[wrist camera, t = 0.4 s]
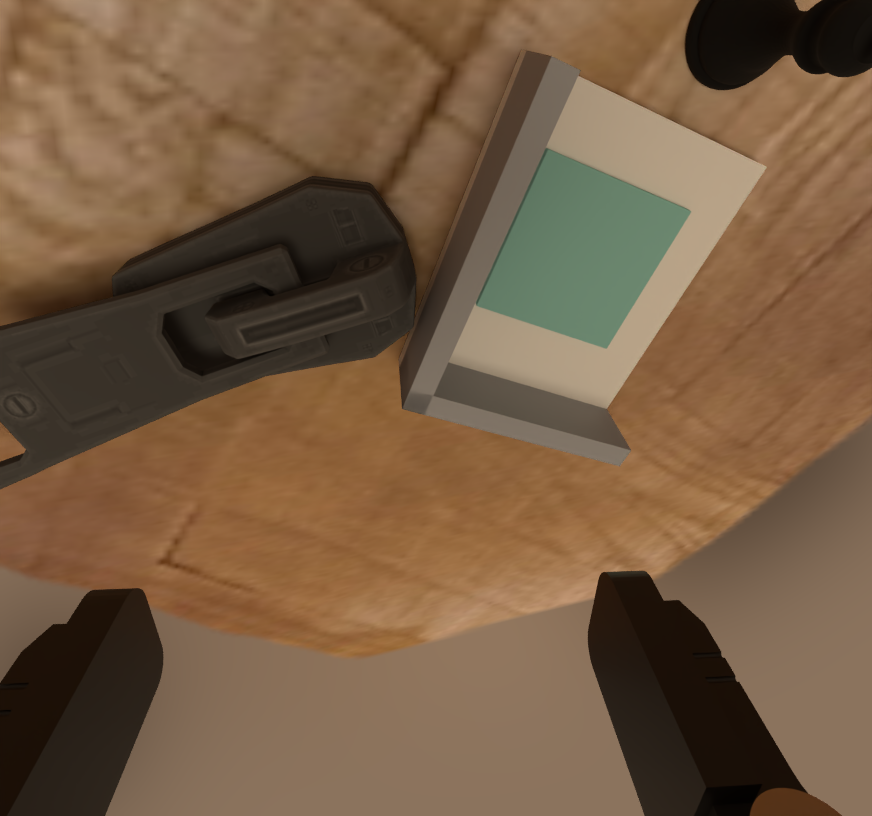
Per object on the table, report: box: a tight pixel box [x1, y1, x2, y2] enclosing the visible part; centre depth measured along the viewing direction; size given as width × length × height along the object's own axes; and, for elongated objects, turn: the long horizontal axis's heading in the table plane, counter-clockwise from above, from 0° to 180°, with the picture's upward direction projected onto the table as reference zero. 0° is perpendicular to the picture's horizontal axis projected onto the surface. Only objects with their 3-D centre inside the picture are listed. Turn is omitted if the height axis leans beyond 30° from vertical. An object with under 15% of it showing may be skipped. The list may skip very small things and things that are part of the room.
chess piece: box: [686, 0, 872, 90], centre depth 20 cm, size 4×4×10 cm
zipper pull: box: [0, 176, 416, 489], centre depth 27 cm, size 9×7×25 cm
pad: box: [476, 148, 691, 349], centre depth 28 cm, size 8×8×1 cm
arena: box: [399, 50, 767, 466], centre depth 28 cm, size 16×13×5 cm
